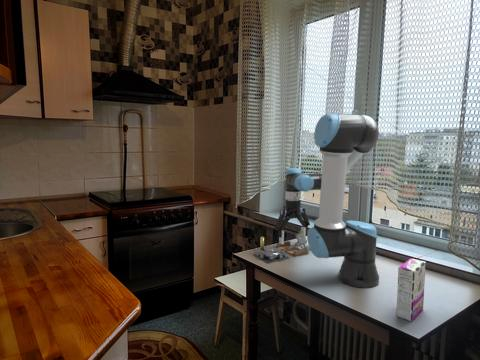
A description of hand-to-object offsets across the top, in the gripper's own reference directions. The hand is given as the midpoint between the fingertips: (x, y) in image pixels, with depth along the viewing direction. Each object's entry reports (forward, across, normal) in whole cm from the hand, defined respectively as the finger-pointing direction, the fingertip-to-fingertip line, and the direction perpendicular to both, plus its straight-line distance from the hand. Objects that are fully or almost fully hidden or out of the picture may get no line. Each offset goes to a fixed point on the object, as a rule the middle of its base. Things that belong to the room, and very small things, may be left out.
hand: (292, 241), depth 164 cm
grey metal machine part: (+4, -14, -2) cm, 15 cm away
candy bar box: (+6, -4, -65) cm, 66 cm away
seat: (+5, 0, 0) cm, 5 cm away
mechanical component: (+3, -3, 0) cm, 4 cm away
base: (+5, -14, -2) cm, 15 cm away
